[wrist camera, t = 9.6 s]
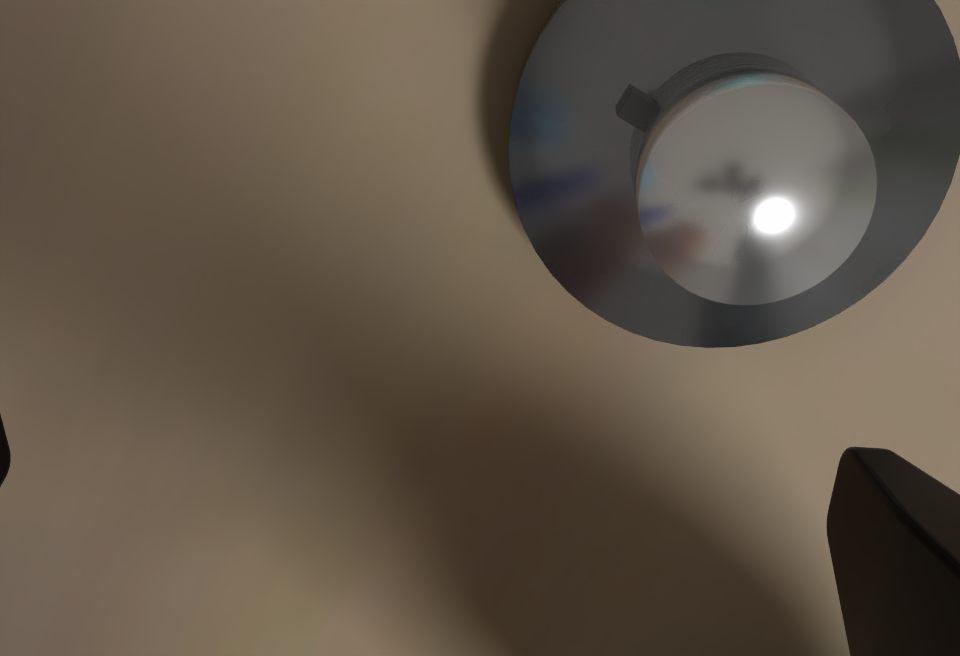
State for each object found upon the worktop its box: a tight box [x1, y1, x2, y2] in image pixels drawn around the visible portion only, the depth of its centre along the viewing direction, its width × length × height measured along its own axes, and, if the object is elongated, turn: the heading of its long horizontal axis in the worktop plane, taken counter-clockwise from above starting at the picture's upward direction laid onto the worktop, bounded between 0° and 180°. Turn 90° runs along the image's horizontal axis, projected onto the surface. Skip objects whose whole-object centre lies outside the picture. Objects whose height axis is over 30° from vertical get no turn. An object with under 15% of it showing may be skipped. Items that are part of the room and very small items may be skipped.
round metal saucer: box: [509, 0, 960, 348], centre depth 17 cm, size 9×9×4 cm
